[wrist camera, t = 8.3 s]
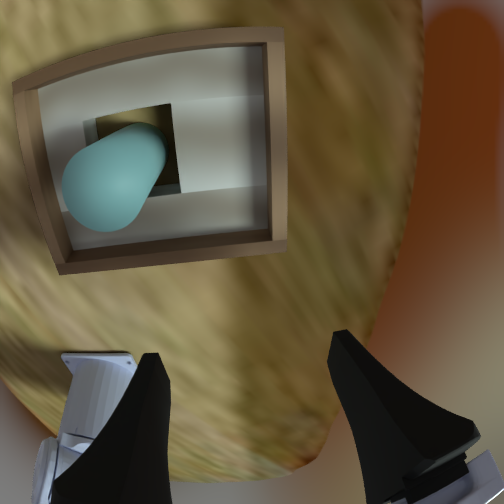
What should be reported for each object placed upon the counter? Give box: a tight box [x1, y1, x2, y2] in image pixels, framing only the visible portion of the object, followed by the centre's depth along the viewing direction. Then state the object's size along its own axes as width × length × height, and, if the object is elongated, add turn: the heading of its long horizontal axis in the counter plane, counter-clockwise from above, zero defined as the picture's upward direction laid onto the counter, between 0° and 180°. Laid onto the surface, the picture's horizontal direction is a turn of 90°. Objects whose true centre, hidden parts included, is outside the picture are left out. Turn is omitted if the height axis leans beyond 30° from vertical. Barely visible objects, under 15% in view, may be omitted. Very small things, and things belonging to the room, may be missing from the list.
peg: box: [62, 123, 169, 232], centre depth 13 cm, size 4×4×7 cm
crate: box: [12, 27, 287, 275], centre depth 15 cm, size 12×14×4 cm
